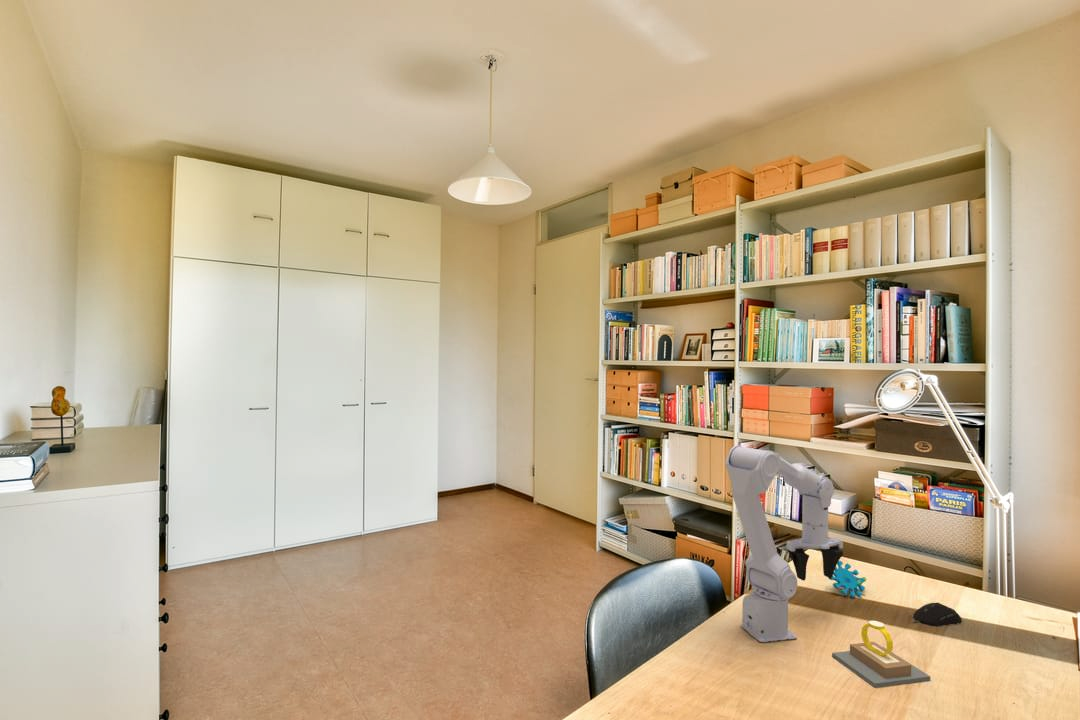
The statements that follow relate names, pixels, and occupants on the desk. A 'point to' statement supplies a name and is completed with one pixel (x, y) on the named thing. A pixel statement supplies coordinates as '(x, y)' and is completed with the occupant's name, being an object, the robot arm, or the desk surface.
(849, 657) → the base board
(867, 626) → the watch
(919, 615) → the gaming mouse
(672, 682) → the desk surface
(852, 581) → the blue virus model
